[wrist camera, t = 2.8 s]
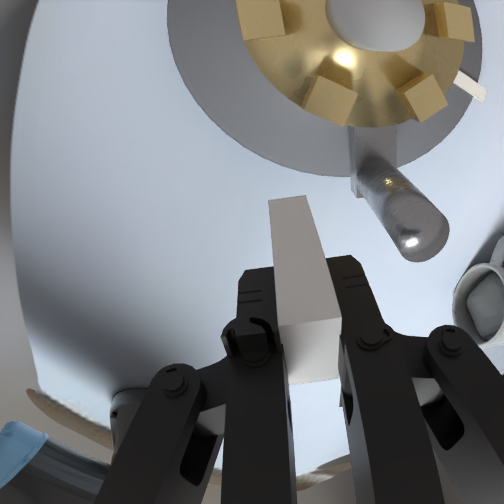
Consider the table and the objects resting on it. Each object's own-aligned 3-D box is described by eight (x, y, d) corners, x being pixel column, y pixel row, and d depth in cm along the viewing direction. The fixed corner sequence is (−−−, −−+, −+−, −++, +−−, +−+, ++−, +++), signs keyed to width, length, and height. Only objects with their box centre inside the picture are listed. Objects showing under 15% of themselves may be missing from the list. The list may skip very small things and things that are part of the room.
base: (209, 188, 22) (192, 246, 16) (151, -78, 10) (111, -121, 5) (470, 159, 20) (527, 201, 14) (443, -81, 9) (498, -103, 3)
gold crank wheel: (221, -59, 11) (199, -133, 4) (420, -56, 10) (506, -88, 2) (269, 192, 20) (280, 283, 13) (440, 173, 19) (517, 243, 11)
